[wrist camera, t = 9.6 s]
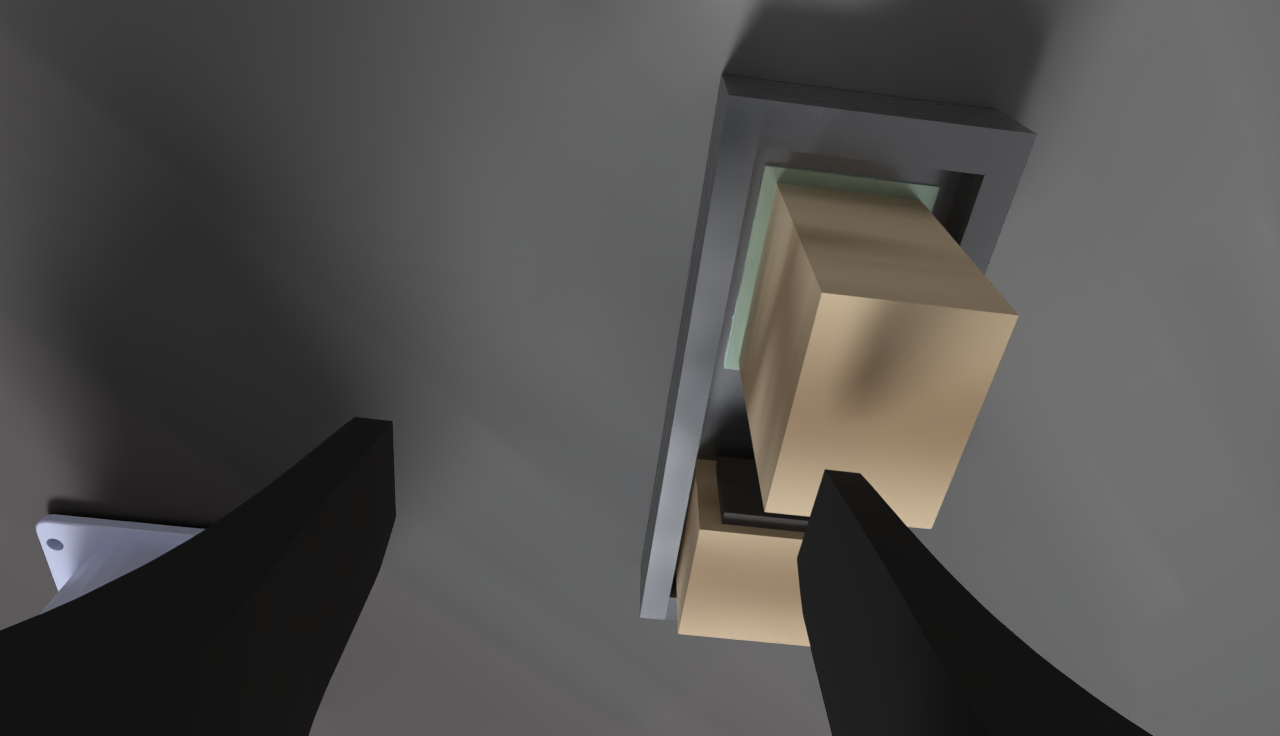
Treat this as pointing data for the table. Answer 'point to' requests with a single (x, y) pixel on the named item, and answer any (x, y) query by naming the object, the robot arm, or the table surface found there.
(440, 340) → the table surface
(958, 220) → the grey rectangular tray
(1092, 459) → the table surface
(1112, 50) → the table surface
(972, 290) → the tan wooden block
